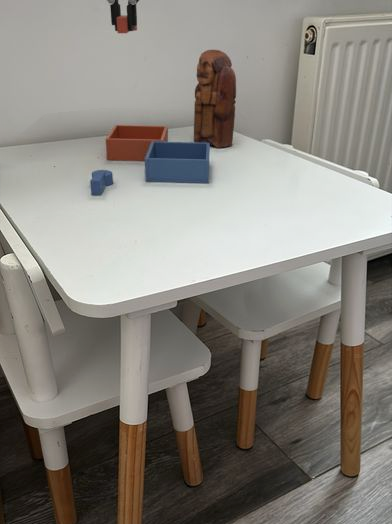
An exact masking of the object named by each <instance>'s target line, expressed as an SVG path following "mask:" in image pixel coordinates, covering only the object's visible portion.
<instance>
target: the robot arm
mask: <svg viewBox="0 0 392 524" xmlns="http://www.w3.org/2000/svg"><path fill="white" fill-rule="evenodd" d="M106 1H107V2H108V4H109V5H110V6H109V7H110V8H109V9H110V22H111V26H114V31H115V32H117V17H119V16H121V15H122V12H121V4H120V3H119V0H106ZM139 1H140V0H127V5H126V15H127V19H128V30H129V32H134V31H133V30H134V26H137V27H138V14H137V4H138V2H139Z"/></svg>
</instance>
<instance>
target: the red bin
mask: <svg viewBox="0 0 392 524" xmlns="http://www.w3.org/2000/svg"><path fill="white" fill-rule="evenodd" d="M152 141H158V142H169V126H168V125H133V124H132V125H131V124H114V126H113V127H112V129H111V130H110V131H109V133H108V135H107V136H106V138H105V151H106V153H105V154H106V161H131V162H145V157H146V155H147V152H148V149H149V147H150V144H151V142H152Z"/></svg>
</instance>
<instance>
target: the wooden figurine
mask: <svg viewBox="0 0 392 524" xmlns="http://www.w3.org/2000/svg"><path fill="white" fill-rule="evenodd" d="M226 53H227V52H226ZM226 53H225V52H224V51H222V50H220V49H207V50H205V51H203V52H201V54H200V56H199V58H198V63H197V65H196V80H197V82H198V83H197V84H196V86H195V88H194V99H195V100H194V115H193V117H194V118H193V142H198V143H210V146H214V147H215V148H217V149H218V148H219V149H221V148H225V147H230V146H232V145H233V142H234V141H233V140H234V128H235V119H236V105H235V104H236V103H237V102H236V97H237V78H236V77H237V76H236V73H235V71H234V69H233V68H232V66H233V64H232V61H231V58H230V57H229V56H228V55H227V54H226Z"/></svg>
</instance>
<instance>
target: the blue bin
mask: <svg viewBox="0 0 392 524" xmlns="http://www.w3.org/2000/svg"><path fill="white" fill-rule="evenodd" d="M210 147H211V145H210V143H198V142H195V141H193V142H191V141H168V142H158V141H152V142H151V144H150V147H149V149H148V152H147V155H146V157H145V161H144V174H145V175H144V176H145V182H147V183H182V184H183V183H185V184H186V183H188V184H209V182H210V181H209V180H210V179H209V178H210V154H211V153H210V152H211V151H210V149H211V148H210Z"/></svg>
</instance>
